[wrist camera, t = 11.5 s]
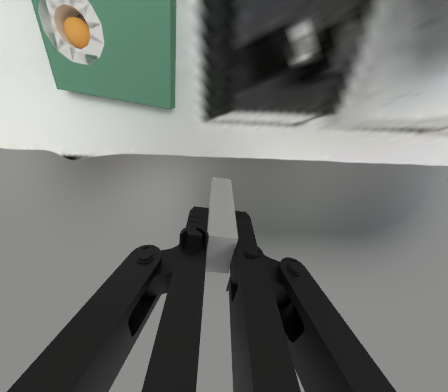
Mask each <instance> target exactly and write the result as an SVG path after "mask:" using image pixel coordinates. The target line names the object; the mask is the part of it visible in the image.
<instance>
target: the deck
mask: <svg viewBox="0 0 448 392" xmlns="http://www.w3.org/2000/svg"><path fill="white" fill-rule="evenodd" d="M32 4H33V7H34V11H35V14H36V18H37V21H38V24H39V28H40V31H41V35H42V38H43V42H44V45H45V49H46V52H47V55H48V59H49V62H50V66H51V69H52V73H53V76H54V80H55V83H56V86H57V89H61V90H67V91H73V92H78V93H84V94H90V95H95V96H101V97H107V98H112V99H118V100H124V101H129V102H135V103H141V104H146V105H152V106H158V107H163V108H169V109H171V108H174V107H175V60H176V0H32ZM80 14H82V15H83V17H84V18H85V20H86V22H87V24H88V25H89V31H90V36H91V37H90V40H89V43H88V46H86V47H84V48H82V49H80V48H78V47H77V46H75V45H74V44H73V43H72V42H71V41H70V40H69V39H68V37H67V36H66V34H65V31H64V21H65V20H66V19H67V18H68V17H77V16H78V15H80Z"/></svg>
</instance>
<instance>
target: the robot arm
mask: <svg viewBox="0 0 448 392" xmlns="http://www.w3.org/2000/svg"><path fill="white" fill-rule="evenodd" d="M229 269H230V279H229V282H228V285H227V289H226V291H228V290H229V300H230V301H229V303H230V325H231V346H232V348H231V349H232V372H233V392H301V391H300V387H299V383H298V380H297V376H296V372H297V374H298V377H299V379H300V381H301V384H302V386H303V388H304V391H305V392H396V391H395V389H394V388H393V387H392V385H391V384H390V383H389V381H388V380H387V378H386V377H385V376H384V375H383V373H382V372H381V370H380V369H379V367H378V366H377V365H376V363H375V362H374V361H373V359H372V358H371V357H370V355H369V354H368V352H367V351H366V350H365V348H364V347H363V346H362V344H361V343H360V341H359V340H358V339H357V337H356V336H355V335H354V333H353V332H352V331H351V329H350V328H349V326H348V325H347V324H346V322H345V321H344V320H343V318H342V317H341V315H340V314H339V313H338V311H337V310H336V309H335V307H334V306H333V305H332V303H331V302H330V301H329V299H328V298H327V296H326V295H325V294H324V292H323V291H322V290H321V288H320V287H319V285H318V284H317V283H316V281H315V280H314V279H313V277H312V276H311V275H310V273H309V272H308V270H307V269H306V268H305V266H303V265H302V263H300V262H299V261H297V260H296V259H293V258H287V257H286V258H284V259H282V260H281V262H279V261H276V260H274V259H271V258H269V257H267V256H265V255H264V254H263V252H262V250H261V249H260V248H259V247H258V246H257V243H256V239H255V235H254V231H253V227H252V224H251V219H250V216H249V215H248V214H247V213H246V212H240V211H235V209H234V201H233V193H232V185H231V180H230V179H224V178H216V177H212V184H211V191H210V199H209V205H208V208H203V207H193V209H192V210H190V213H189V217H188V221H187V225H186V228H184V229H183V230H182V231H181V233H180V244H179V245H178V246H176V247H174V248H171V249H167V250H161V251H160V249H159V248H158V247H156V246H154V245H144V246H140V247H139V248H136V249H135V250H134V251H133V252H131V253H130V255H129V256H128V257H127V258H126V259H125V260H124V261H123V262H122V264H121V265H120V266H119V267H118V268H117V269H116V270H115V271H114V273H113V274H112V275H111V276H110V277H109V278H108V279H107V280H106V281H105V283H104V284H103V285H102V286H101V287H100V288H99V289H98V290H97V292H96V293H95V294H94V295H93V296H92V297H91V298H90V299H89V300H88V302H87V303H86V304H85V305H84V306H83V307H82V308H81V310H80V311H79V312H78V313H77V314H76V315H75V316H74V317H73V318H72V319H71V321H70V322H69V323H68V324H67V325H66V326H65V327H64V328H63V330H62V331H61V332H60V333H59V334H58V335H57V337H55V339H54V340H53V341H52V342H51V343H50V344H49V346H47V348H46V349H45V350H44V351H43V352H42V353H41V354H40V356H38V358H37V359H36V360H35V361H34V362H33V363H32V364H31V365H30V367H29V368H28V369H27V370H26V371H25V372H24V373H23V374H22V375H21V377H20V378H19V379H18V380H17V381H16V382H15V383H14V384H13V386H12V387H11V388H10V389H9V390H8V391H7V392H108V391H109V390H110V388H111V386H112V384H113V382H114V380H115V379H116V377H117V375H118V373H119V371H120V369H121V368H122V366H123V364H124V362H125V360H126V358H127V357H128V355H129V353H130V351H131V349H132V347H133V345H134V344H135V342H136V340H137V338H138V336H139V334H140V333H141V331H142V329H143V327H144V325H145V323H146V322H147V319H148V318H149V316H150V314H151V312H152V310H153V309H154V307H155V305H156V303H157V301H158V299H159V298H160V296H161V294H164V293H167V296H166V301H165V304H164V308H163V312H162V316H161V320H160V323H159V327H158V331H157V335H156V339H155V342H154V346H153V350H152V354H151V358H150V362H149V365H148V369H147V374H146V377H145V381H144V385H143V389H142V392H196V382H197V370H198V358H199V357H198V356H199V345H200V332H201V319H202V307H203V294H204V281H205V271H208V272H220V273H229ZM295 370H296V372H295Z"/></svg>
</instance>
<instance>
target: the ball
mask: <svg viewBox="0 0 448 392" xmlns="http://www.w3.org/2000/svg"><path fill="white" fill-rule="evenodd" d="M64 31H65V34H66V36H67V37H68V39H69V40H70V41H71V42H72V43H73V44H74V45H75V46H77V47H78V48H80V49H82V48H84V47H86V46H88V43H89V40H90V37H91V36H90V31H89V25H88V24H87V23H86V22H84V21H83V20H82V19H80V18H77V17H68V18H67V19H66V20H65V21H64Z"/></svg>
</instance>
